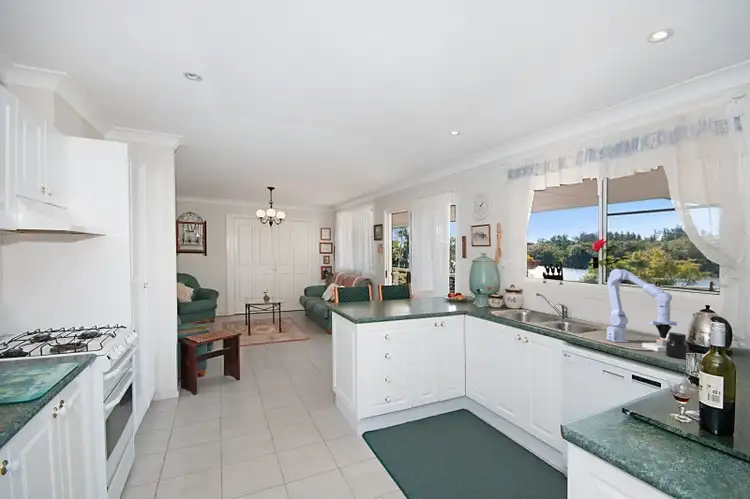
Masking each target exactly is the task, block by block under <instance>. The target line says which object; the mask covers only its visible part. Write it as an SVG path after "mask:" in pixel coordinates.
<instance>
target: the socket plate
mask: <svg viewBox="0 0 750 499" xmlns="http://www.w3.org/2000/svg"><path fill="white" fill-rule="evenodd" d="M641 347H642V348H643V349H648V350H650V349H651V351H654V352H656V353H657V352H658V353H666V347H663V346H659V345H656V342H642V344H641Z"/></svg>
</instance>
